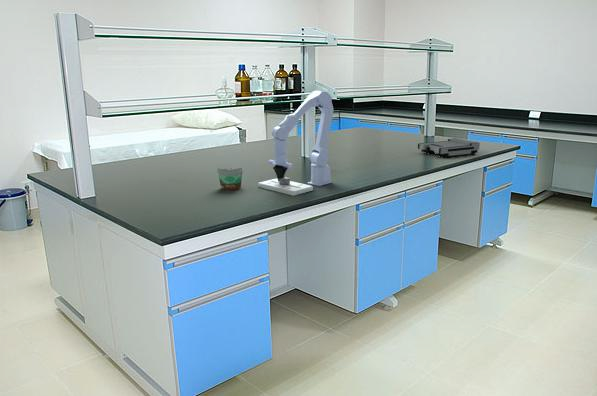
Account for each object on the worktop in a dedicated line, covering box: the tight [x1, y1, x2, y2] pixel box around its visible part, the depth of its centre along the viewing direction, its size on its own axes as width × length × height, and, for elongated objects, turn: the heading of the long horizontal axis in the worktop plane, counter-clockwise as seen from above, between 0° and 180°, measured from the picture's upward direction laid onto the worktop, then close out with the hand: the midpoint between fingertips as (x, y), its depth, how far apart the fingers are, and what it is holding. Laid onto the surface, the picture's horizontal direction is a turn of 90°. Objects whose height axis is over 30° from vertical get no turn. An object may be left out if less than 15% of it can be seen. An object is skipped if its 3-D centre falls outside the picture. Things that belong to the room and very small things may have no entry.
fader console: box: [257, 178, 314, 197], centre depth 229 cm, size 13×23×2 cm, turn 47°
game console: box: [417, 137, 481, 159], centre depth 313 cm, size 21×32×8 cm, turn 117°
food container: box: [216, 167, 245, 192], centre depth 227 cm, size 12×6×10 cm, turn 106°
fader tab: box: [279, 176, 291, 185], centre depth 229 cm, size 4×3×3 cm
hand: (280, 181), depth 231 cm, fingers closed
